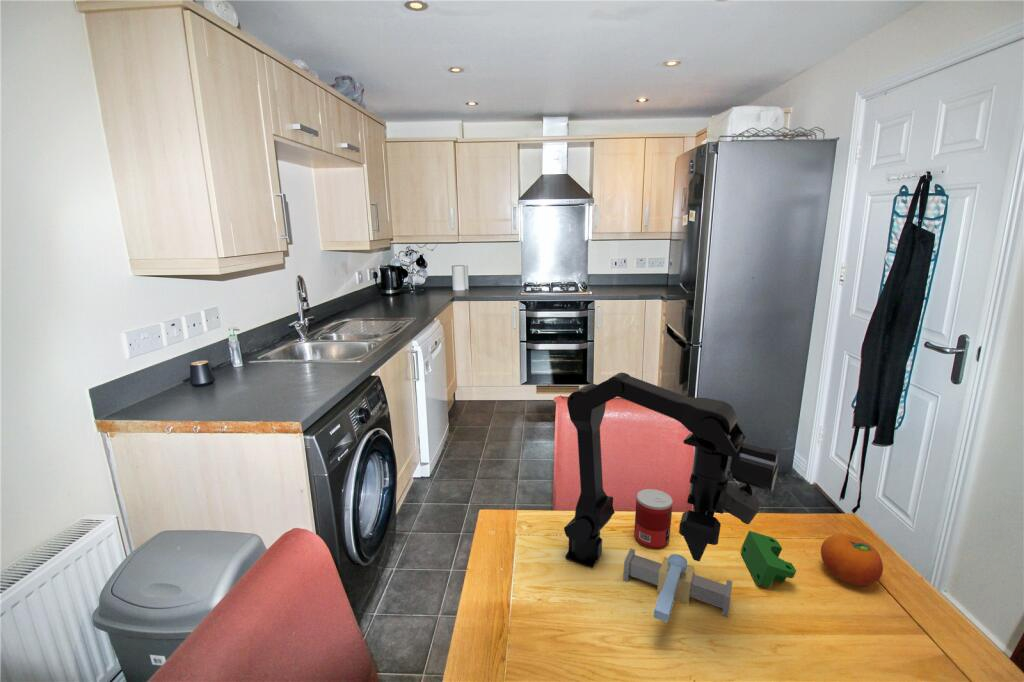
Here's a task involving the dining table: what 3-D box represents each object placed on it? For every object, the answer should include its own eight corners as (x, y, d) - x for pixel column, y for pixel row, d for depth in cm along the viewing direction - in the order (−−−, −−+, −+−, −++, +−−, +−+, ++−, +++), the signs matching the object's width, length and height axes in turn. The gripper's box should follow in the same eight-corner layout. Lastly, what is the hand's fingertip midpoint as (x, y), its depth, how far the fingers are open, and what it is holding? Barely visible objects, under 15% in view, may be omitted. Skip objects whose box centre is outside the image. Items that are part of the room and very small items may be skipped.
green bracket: (777, 602, 97) (801, 583, 92) (748, 593, 98) (770, 573, 92) (765, 548, 107) (786, 528, 101) (739, 541, 107) (758, 520, 102)
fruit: (806, 564, 102) (811, 532, 100) (841, 554, 105) (847, 522, 103) (854, 599, 92) (861, 565, 90) (891, 587, 95) (899, 553, 93)
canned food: (673, 550, 107) (677, 507, 104) (638, 549, 107) (641, 507, 104) (663, 529, 114) (666, 488, 112) (630, 528, 114) (633, 488, 112)
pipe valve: (622, 580, 98) (624, 560, 96) (629, 566, 102) (630, 546, 101) (727, 618, 88) (730, 596, 87) (730, 600, 92) (732, 579, 91)
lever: (650, 617, 82) (650, 608, 81) (669, 559, 96) (670, 551, 96) (671, 625, 80) (672, 616, 80) (688, 565, 94) (688, 557, 94)
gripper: (758, 511, 73) (744, 594, 76) (760, 459, 89) (749, 530, 92) (683, 491, 78) (674, 571, 82) (698, 445, 94) (689, 514, 98)
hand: (699, 545), depth 88 cm, fingers open, 9 cm apart
